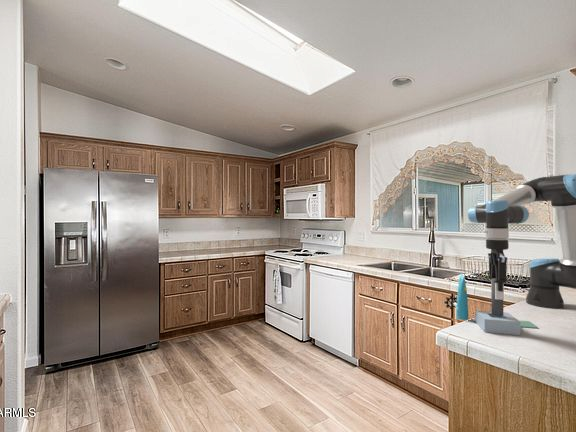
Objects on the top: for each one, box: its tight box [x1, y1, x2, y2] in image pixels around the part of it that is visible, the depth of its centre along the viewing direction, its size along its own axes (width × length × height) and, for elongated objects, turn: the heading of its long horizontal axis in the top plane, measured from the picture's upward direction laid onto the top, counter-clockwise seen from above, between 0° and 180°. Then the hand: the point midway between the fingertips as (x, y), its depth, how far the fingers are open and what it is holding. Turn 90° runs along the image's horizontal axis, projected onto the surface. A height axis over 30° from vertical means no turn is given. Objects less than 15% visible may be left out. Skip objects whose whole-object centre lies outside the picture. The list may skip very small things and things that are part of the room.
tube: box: [455, 273, 470, 321], centre depth 141 cm, size 7×5×19 cm, turn 168°
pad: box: [519, 320, 539, 329], centre depth 134 cm, size 8×8×1 cm
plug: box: [490, 278, 504, 316], centre depth 129 cm, size 4×4×14 cm
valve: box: [444, 295, 457, 310], centre depth 150 cm, size 7×7×12 cm
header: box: [474, 309, 521, 336], centre depth 129 cm, size 12×12×5 cm
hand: (497, 297), depth 129 cm, fingers closed on plug, 4 cm apart
